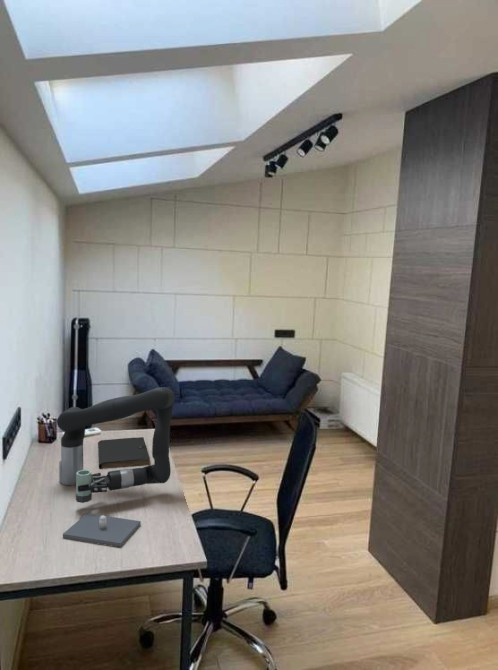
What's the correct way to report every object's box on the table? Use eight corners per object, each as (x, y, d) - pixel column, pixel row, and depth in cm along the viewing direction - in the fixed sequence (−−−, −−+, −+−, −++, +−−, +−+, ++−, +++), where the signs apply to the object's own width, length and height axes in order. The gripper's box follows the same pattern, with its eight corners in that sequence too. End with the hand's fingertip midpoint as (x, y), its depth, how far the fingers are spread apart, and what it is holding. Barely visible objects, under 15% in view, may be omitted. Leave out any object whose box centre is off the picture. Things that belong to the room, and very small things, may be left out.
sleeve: (73, 501, 195) (73, 474, 193) (81, 495, 200) (81, 469, 199) (86, 503, 193) (86, 476, 192) (93, 497, 199) (93, 470, 197)
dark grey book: (150, 457, 245) (98, 462, 237) (150, 465, 245) (99, 470, 238) (143, 436, 276) (97, 439, 269) (143, 443, 276) (98, 447, 269)
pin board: (62, 537, 176) (62, 522, 175) (87, 516, 191) (87, 502, 191) (120, 547, 171) (120, 531, 171) (140, 525, 187) (140, 509, 186)
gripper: (116, 464, 208) (73, 469, 201) (124, 477, 196) (79, 483, 188) (116, 481, 209) (73, 487, 202) (124, 495, 197) (79, 502, 189)
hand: (77, 485), depth 195 cm, fingers closed on sleeve, 5 cm apart
